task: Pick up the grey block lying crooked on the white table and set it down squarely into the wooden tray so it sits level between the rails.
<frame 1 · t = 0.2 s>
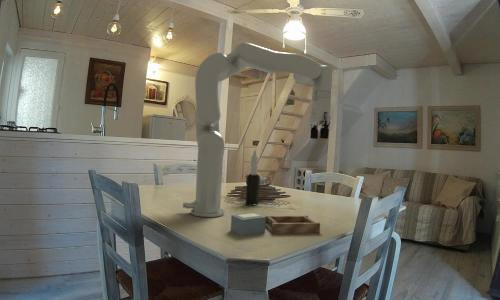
hand: (318, 138, 121), 31 cm above the table, tool pointing down, fingers open, 9 cm apart
wooden tray: (290, 228, 98), on the table
grey block: (247, 231, 92), on the table
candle: (252, 204, 135), on the table
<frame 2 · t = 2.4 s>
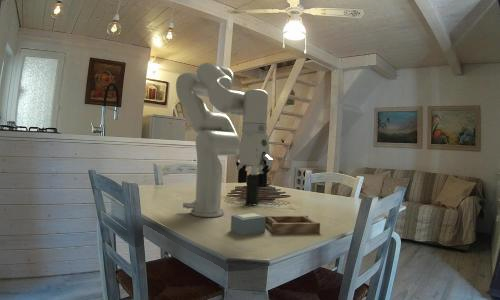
hand: (251, 184, 92), 15 cm above the table, tool pointing down, fingers open, 9 cm apart
nothing on the table moved.
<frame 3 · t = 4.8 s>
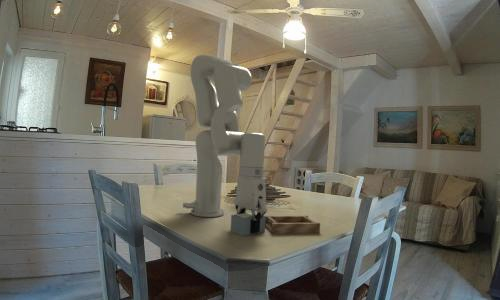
hand: (248, 229, 92), 1 cm above the table, tool pointing down, fingers closed on grey block, 6 cm apart
grey block: (247, 231, 92), on the table, touching gripper
everything else where it was.
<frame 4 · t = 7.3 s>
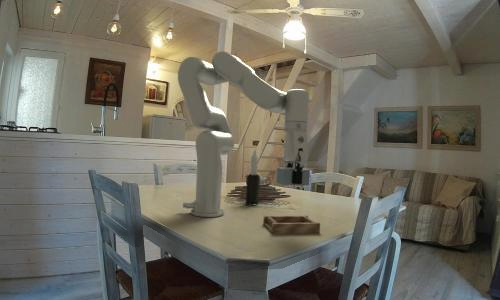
hand: (292, 181, 97), 16 cm above the table, tool pointing down, fingers closed on grey block, 6 cm apart
grey block: (292, 183, 97), point 15 cm above the table, touching gripper
everything else where it was.
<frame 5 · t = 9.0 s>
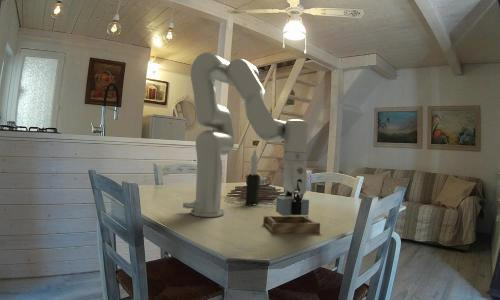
hand: (292, 211, 97), 6 cm above the table, tool pointing down, fingers closed on grey block, 6 cm apart
grey block: (291, 213, 97), point 5 cm above the table, touching gripper
everything else where it was.
when the fingers open (4 cm above the table, at t = 10.3 s): grey block drops 2 cm, resting on wooden tray.
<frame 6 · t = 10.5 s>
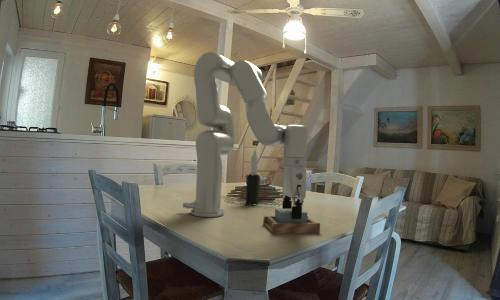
hand: (291, 215, 98), 4 cm above the table, tool pointing down, fingers open, 8 cm apart
grey block: (290, 225, 98), point 1 cm above the table, touching wooden tray
everything else where it was.
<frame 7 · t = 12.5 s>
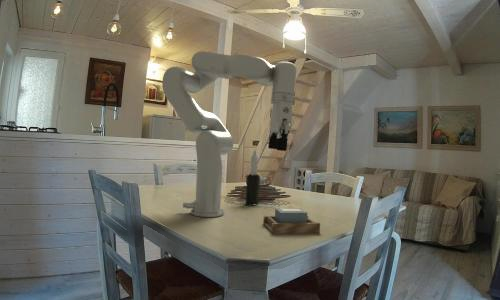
hand: (276, 149, 101), 26 cm above the table, tool pointing down, fingers open, 9 cm apart
nothing on the table moved.
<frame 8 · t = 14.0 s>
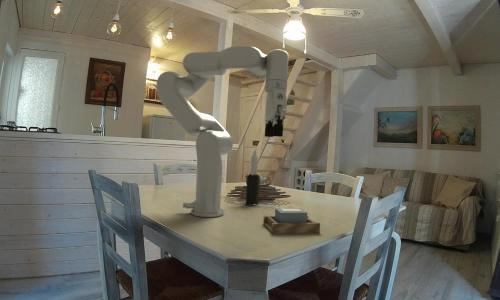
hand: (273, 136, 103), 30 cm above the table, tool pointing down, fingers open, 9 cm apart
nothing on the table moved.
at the end: grey block 0.2 cm off-centre on the wooden tray, point 1.0 cm above the wooden tray's base; grey block tilted 0°; the gripper is holding nothing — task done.
